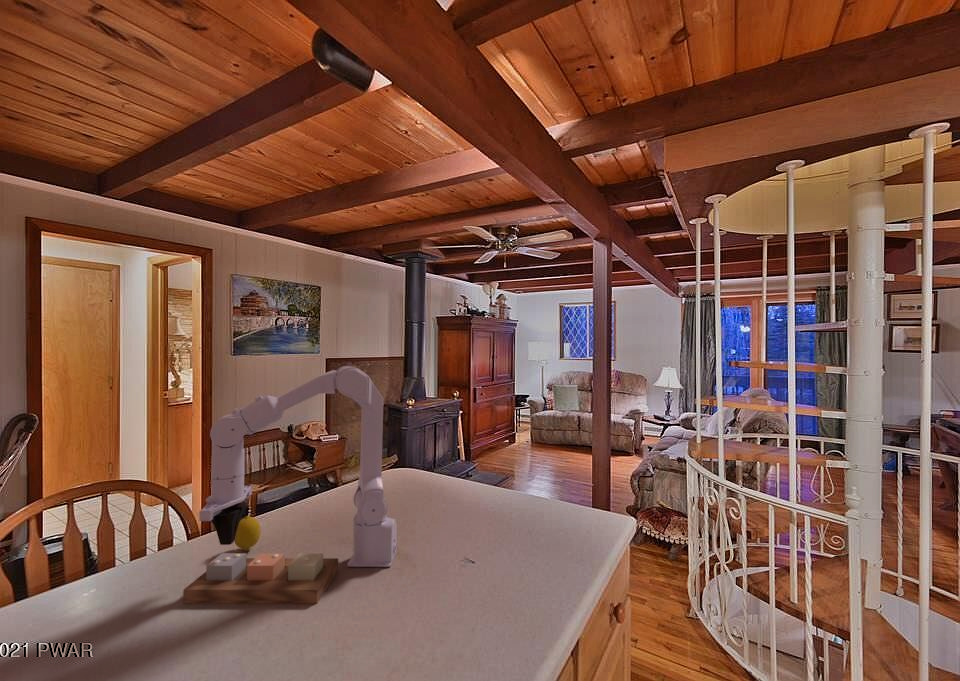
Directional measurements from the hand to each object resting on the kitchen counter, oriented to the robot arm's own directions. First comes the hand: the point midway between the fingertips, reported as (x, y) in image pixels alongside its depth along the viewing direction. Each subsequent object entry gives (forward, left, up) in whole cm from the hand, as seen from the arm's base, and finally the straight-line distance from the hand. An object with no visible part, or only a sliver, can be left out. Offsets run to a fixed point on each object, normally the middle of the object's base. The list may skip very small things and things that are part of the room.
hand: (227, 543), depth 86 cm
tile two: (-8, 0, -7) cm, 10 cm away
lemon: (+4, -15, -9) cm, 18 cm away
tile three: (0, 0, -7) cm, 7 cm away
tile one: (-16, 0, -7) cm, 17 cm away
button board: (-8, 0, -8) cm, 12 cm away
